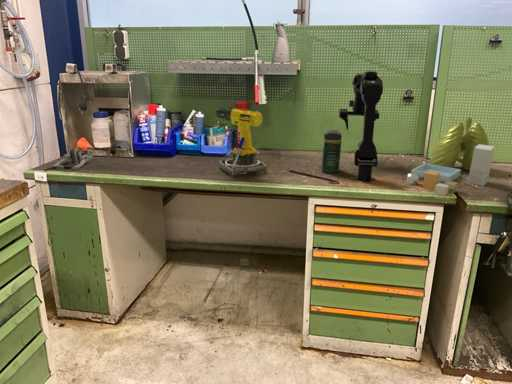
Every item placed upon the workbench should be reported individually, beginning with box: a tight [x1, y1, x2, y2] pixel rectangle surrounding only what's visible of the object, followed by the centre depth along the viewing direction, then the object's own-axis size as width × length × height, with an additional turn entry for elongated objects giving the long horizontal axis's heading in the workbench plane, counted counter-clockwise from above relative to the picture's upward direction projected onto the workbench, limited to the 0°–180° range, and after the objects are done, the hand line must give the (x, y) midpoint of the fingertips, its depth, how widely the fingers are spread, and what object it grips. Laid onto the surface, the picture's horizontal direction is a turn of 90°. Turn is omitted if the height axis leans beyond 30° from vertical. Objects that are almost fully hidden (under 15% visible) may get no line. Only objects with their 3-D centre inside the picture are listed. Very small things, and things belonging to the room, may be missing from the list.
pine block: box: [443, 181, 459, 194], centre depth 165 cm, size 4×4×4 cm
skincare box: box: [467, 144, 496, 187], centre depth 174 cm, size 8×7×16 cm
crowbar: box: [288, 168, 340, 185], centre depth 182 cm, size 28×1×5 cm
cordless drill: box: [213, 106, 268, 177], centre depth 188 cm, size 18×19×28 cm
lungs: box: [429, 116, 490, 171], centre depth 195 cm, size 25×16×24 cm, turn 81°
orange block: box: [422, 171, 440, 190], centre depth 169 cm, size 4×4×6 cm
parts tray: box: [410, 162, 462, 184], centre depth 185 cm, size 16×16×3 cm
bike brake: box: [43, 147, 93, 172], centre depth 193 cm, size 14×7×20 cm
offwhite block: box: [433, 182, 449, 197], centre depth 161 cm, size 4×4×4 cm
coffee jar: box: [321, 129, 343, 174], centre depth 189 cm, size 10×8×19 cm
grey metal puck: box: [406, 172, 420, 186], centre depth 174 cm, size 4×4×4 cm
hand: (356, 130), depth 207 cm, fingers open, 9 cm apart
